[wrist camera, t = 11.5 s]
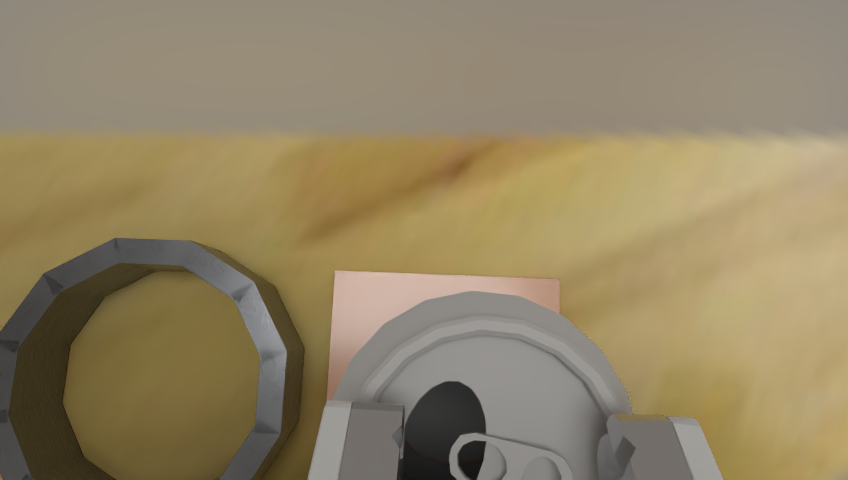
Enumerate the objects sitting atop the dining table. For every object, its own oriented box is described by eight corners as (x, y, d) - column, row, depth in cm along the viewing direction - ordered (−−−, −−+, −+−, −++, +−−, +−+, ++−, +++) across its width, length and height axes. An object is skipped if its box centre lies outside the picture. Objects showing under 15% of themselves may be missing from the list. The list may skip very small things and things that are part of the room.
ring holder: (22, 511, 22) (-40, 540, 19) (62, 244, 24) (11, 234, 21) (291, 522, 22) (271, 553, 19) (311, 254, 24) (295, 244, 21)
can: (395, 285, 23) (365, 245, 11) (560, 330, 23) (706, 339, 11) (347, 456, 22) (257, 611, 10) (519, 506, 22) (633, 727, 10)
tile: (322, 505, 22) (319, 509, 22) (337, 271, 24) (335, 270, 23) (556, 514, 22) (560, 520, 22) (556, 280, 24) (559, 279, 23)
